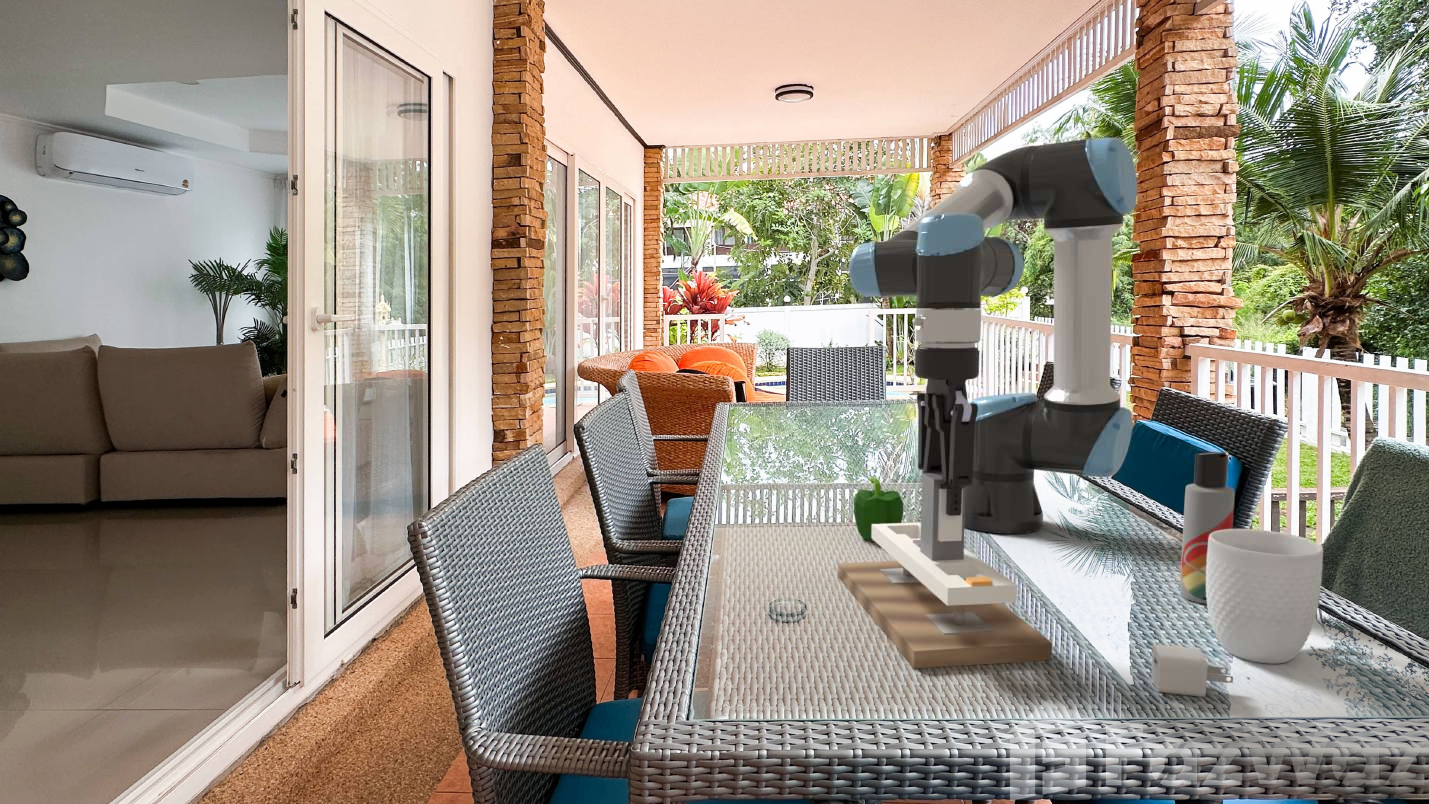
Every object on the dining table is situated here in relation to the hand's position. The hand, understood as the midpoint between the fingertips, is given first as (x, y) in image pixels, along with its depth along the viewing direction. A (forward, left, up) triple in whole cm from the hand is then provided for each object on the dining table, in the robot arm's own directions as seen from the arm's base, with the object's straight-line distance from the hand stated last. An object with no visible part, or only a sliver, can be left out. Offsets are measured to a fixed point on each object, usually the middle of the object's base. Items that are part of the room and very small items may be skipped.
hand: (942, 534), depth 108 cm
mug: (-33, +13, -12) cm, 38 cm away
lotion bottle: (-38, -4, -12) cm, 40 cm away
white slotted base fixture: (0, -2, -5) cm, 5 cm away
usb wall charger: (-19, +21, -12) cm, 31 cm away
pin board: (0, -4, -11) cm, 12 cm away
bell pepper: (-4, -39, -12) cm, 41 cm away
